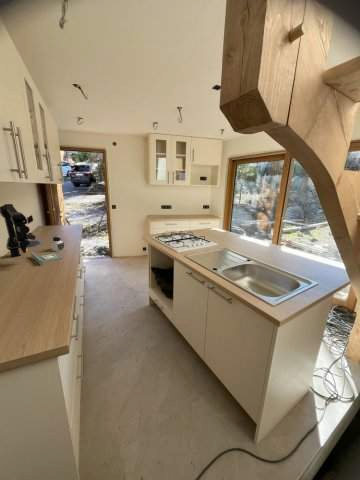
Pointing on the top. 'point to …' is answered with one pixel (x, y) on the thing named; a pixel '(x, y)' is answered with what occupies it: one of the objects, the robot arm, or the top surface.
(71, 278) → the top surface
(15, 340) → the top surface
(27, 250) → the ball
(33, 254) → the gray wall
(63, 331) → the top surface
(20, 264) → the top surface
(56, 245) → the medicine bottle
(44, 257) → the resting mat
